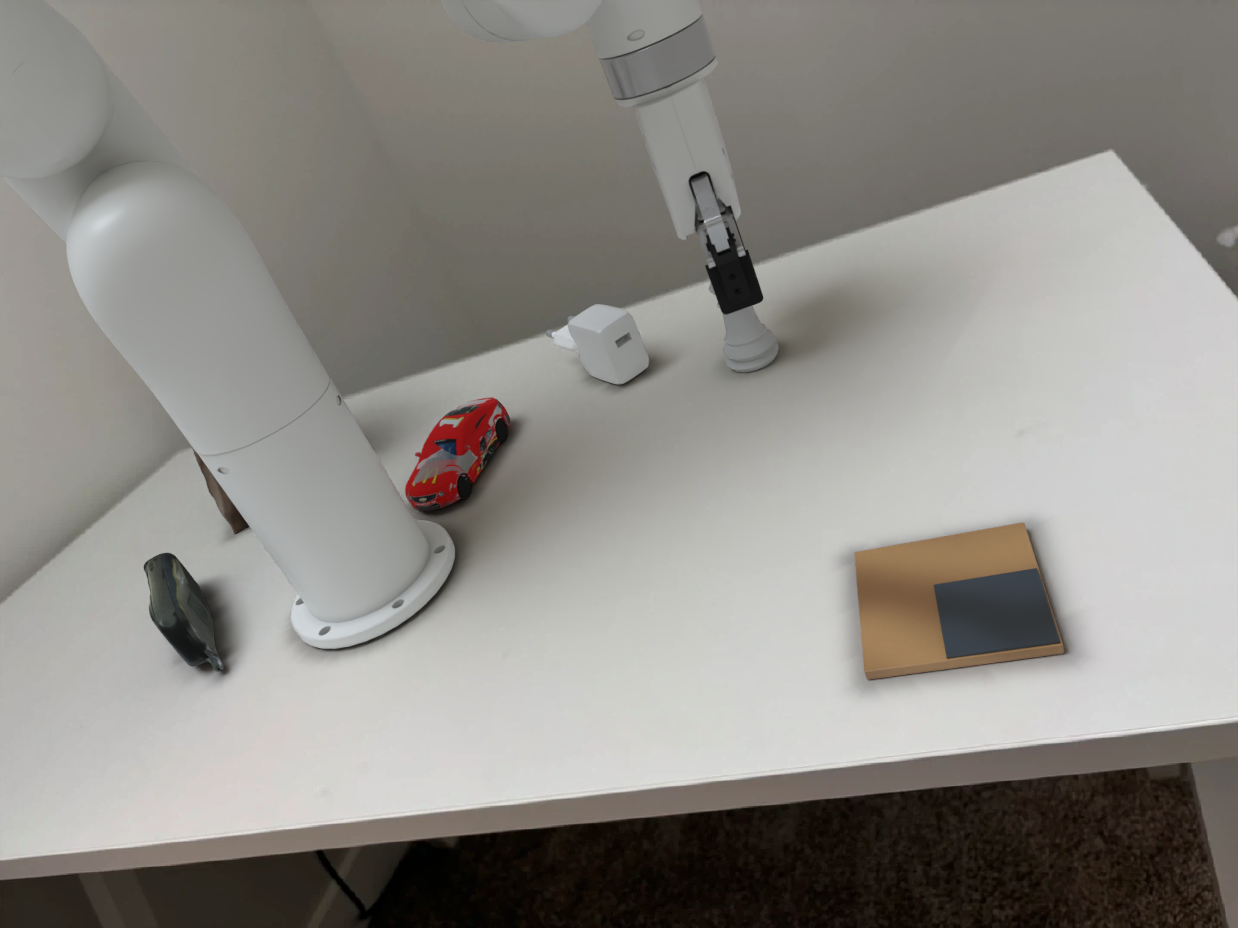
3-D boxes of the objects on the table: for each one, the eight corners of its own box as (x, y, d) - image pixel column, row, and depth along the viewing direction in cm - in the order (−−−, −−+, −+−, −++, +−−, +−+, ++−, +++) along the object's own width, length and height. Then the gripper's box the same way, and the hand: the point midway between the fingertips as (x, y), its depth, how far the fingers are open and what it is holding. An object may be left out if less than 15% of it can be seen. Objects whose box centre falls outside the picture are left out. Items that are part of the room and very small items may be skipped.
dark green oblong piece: (133, 562, 76) (153, 640, 64) (168, 541, 77) (194, 614, 65) (170, 607, 79) (195, 690, 66) (203, 586, 80) (234, 664, 67)
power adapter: (552, 369, 90) (527, 315, 87) (591, 343, 92) (568, 289, 89) (617, 393, 81) (592, 333, 78) (659, 363, 83) (637, 304, 80)
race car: (458, 516, 74) (435, 476, 72) (403, 521, 76) (380, 482, 74) (523, 419, 83) (505, 380, 81) (473, 426, 86) (453, 389, 84)
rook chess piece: (719, 362, 79) (689, 276, 75) (766, 339, 79) (739, 252, 75) (740, 381, 75) (709, 291, 71) (789, 356, 75) (762, 266, 71)
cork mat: (856, 559, 54) (853, 549, 53) (1025, 530, 51) (1023, 518, 50) (866, 680, 46) (863, 669, 46) (1064, 653, 44) (1062, 641, 43)
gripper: (607, 61, 73) (681, 259, 82) (610, 112, 59) (699, 346, 67) (699, 22, 72) (764, 228, 81) (726, 64, 57) (802, 309, 66)
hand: (735, 281), depth 74 cm, fingers open, 9 cm apart
